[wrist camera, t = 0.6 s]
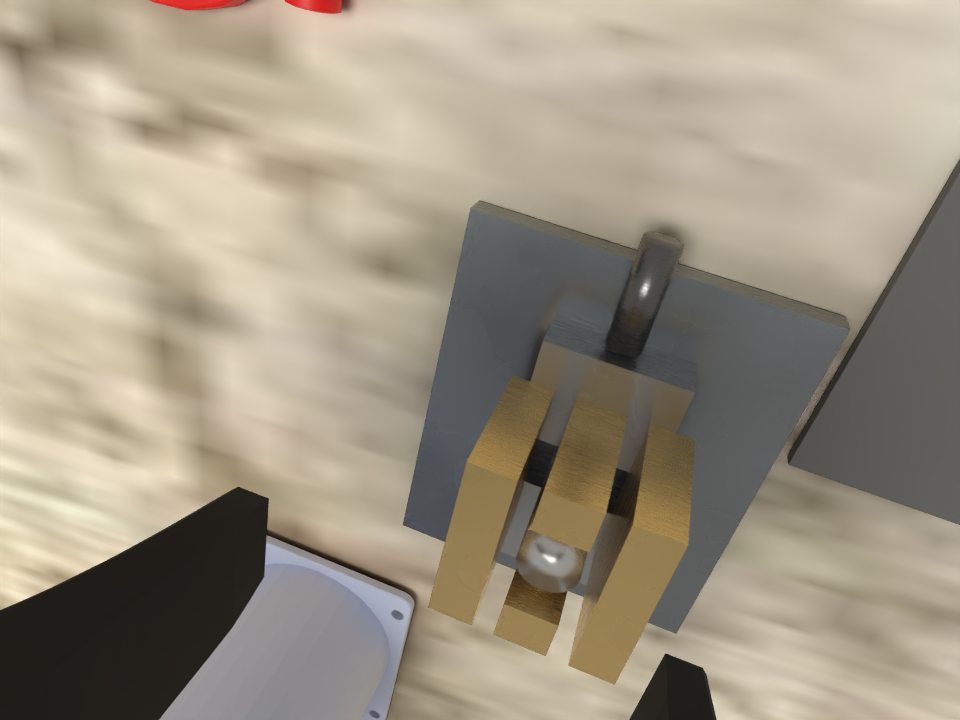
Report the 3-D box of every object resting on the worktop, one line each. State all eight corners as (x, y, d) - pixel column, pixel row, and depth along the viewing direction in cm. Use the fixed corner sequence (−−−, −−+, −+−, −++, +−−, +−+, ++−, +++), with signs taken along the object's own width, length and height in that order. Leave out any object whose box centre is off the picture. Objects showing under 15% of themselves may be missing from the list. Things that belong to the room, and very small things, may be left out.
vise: (677, 615, 24) (664, 783, 19) (411, 510, 26) (334, 641, 21) (864, 281, 17) (921, 406, 12) (487, 165, 19) (399, 233, 14)
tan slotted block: (632, 569, 21) (614, 684, 17) (474, 508, 21) (428, 607, 18) (695, 439, 18) (688, 545, 15) (512, 375, 19) (466, 461, 15)
